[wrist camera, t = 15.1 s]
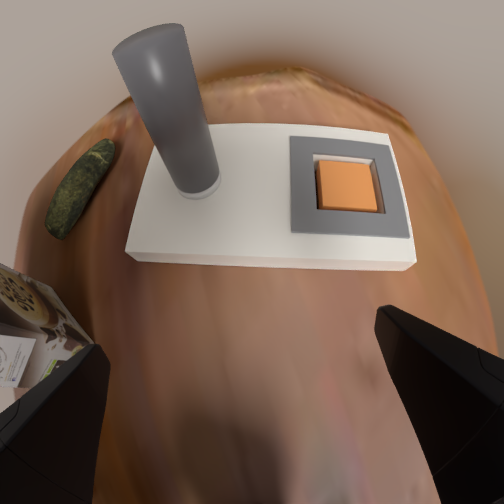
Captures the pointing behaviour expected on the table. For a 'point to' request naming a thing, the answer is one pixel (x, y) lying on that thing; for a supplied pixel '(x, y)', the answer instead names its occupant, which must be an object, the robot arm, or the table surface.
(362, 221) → the panel
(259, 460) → the table surface
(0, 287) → the coffee box
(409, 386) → the robot arm
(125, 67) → the grey cylinder
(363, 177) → the button
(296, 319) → the table surface
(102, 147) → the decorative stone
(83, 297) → the table surface
